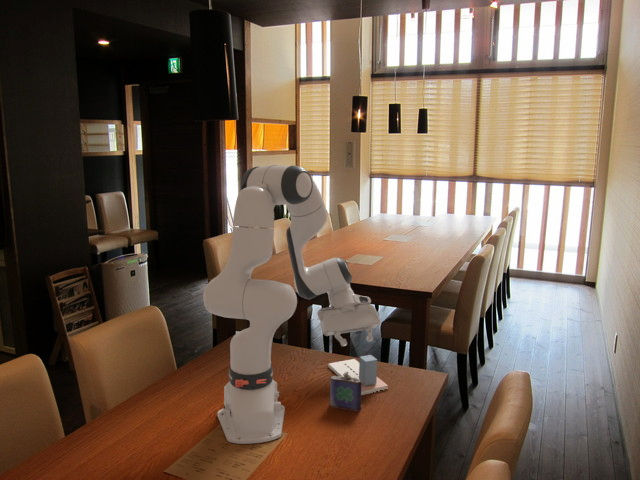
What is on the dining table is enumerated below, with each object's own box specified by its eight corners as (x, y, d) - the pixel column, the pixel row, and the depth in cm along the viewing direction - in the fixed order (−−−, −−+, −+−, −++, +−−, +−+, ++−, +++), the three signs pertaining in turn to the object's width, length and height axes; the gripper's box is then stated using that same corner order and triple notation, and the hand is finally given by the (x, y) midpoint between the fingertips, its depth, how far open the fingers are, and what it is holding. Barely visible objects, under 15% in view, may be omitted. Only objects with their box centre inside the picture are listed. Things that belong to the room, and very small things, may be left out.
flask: (328, 407, 155) (329, 372, 153) (331, 402, 157) (332, 368, 155) (359, 412, 152) (361, 377, 150) (362, 407, 155) (363, 372, 153)
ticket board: (387, 389, 166) (388, 385, 165) (359, 395, 162) (359, 391, 161) (354, 362, 185) (354, 358, 185) (328, 366, 181) (328, 363, 181)
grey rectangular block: (376, 383, 166) (377, 359, 164) (365, 386, 164) (365, 361, 163) (370, 378, 169) (370, 354, 168) (358, 380, 168) (359, 356, 166)
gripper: (318, 304, 171) (331, 344, 164) (374, 296, 180) (388, 334, 173) (312, 313, 176) (325, 352, 169) (367, 305, 185) (380, 342, 178)
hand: (357, 343), depth 171 cm, fingers open, 8 cm apart
